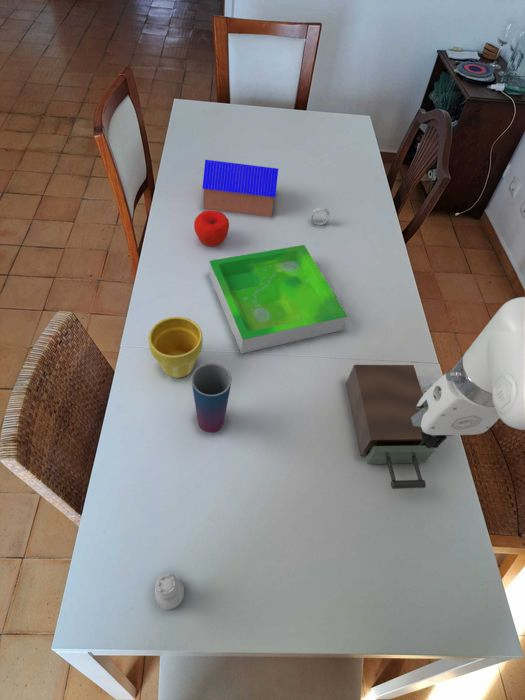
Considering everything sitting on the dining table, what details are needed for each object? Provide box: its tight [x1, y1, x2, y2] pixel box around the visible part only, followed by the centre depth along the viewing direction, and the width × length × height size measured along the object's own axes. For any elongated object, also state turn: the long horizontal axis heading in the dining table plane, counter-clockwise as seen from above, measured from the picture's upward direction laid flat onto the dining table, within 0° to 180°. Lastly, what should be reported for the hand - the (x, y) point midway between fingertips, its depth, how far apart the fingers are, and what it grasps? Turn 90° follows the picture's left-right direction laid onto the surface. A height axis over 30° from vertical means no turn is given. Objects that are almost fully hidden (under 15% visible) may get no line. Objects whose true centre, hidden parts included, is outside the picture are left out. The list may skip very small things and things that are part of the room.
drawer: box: [365, 441, 436, 490], centre depth 87 cm, size 21×11×5 cm, turn 4°
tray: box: [209, 244, 348, 354], centre depth 108 cm, size 25×25×5 cm
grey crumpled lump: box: [310, 207, 330, 226], centre depth 128 cm, size 3×5×5 cm, turn 90°
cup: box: [191, 362, 233, 434], centre depth 83 cm, size 7×7×15 cm
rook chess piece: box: [154, 572, 185, 611], centre depth 67 cm, size 4×4×8 cm
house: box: [201, 159, 279, 218], centre depth 128 cm, size 12×20×12 cm, turn 87°
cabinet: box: [345, 364, 426, 457], centre depth 91 cm, size 17×13×7 cm
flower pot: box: [148, 316, 203, 379], centre depth 92 cm, size 10×10×10 cm
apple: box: [193, 209, 230, 247], centre depth 118 cm, size 9×9×8 cm
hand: (428, 439), depth 74 cm, fingers closed
